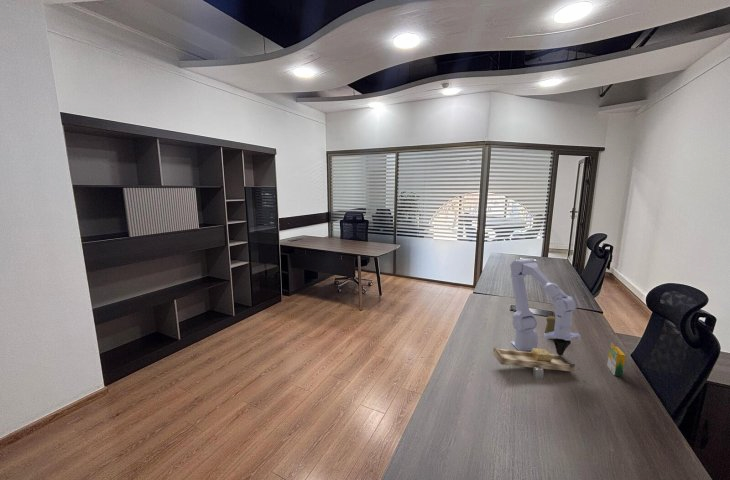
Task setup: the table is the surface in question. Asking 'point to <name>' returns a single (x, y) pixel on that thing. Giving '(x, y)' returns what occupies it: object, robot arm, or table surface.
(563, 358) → the beam
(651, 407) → the table surface
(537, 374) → the grey rectangular bar
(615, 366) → the crayon box
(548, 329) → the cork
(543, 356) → the block
